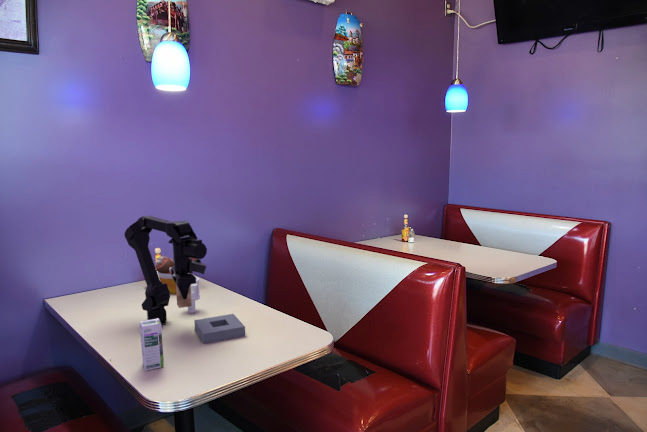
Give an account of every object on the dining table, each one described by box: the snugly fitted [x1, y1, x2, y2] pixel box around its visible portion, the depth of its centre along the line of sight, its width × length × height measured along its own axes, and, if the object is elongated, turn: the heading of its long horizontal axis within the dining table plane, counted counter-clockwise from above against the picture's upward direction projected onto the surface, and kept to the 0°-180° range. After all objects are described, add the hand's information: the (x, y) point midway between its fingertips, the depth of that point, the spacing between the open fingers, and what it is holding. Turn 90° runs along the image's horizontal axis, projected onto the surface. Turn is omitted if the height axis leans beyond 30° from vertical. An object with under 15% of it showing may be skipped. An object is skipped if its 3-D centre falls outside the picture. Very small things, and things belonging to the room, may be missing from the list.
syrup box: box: [139, 318, 165, 372], centre depth 150 cm, size 6×6×14 cm
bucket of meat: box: [154, 256, 195, 295], centre depth 228 cm, size 20×16×20 cm
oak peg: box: [175, 281, 192, 309], centre depth 176 cm, size 4×4×9 cm
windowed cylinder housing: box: [187, 276, 201, 314], centre depth 199 cm, size 7×7×15 cm
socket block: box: [194, 313, 246, 344], centre depth 177 cm, size 15×15×4 cm
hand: (183, 297), depth 177 cm, fingers closed on oak peg, 4 cm apart
